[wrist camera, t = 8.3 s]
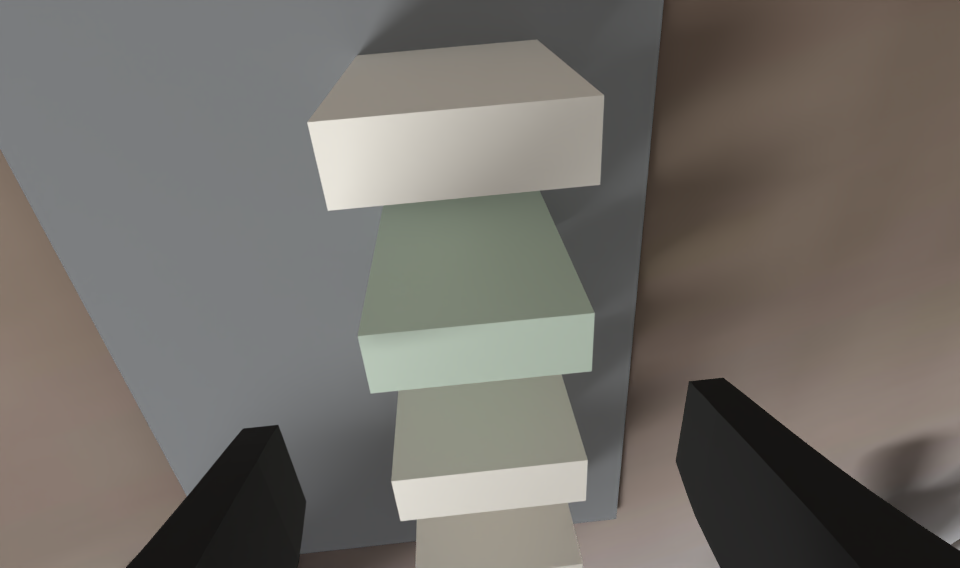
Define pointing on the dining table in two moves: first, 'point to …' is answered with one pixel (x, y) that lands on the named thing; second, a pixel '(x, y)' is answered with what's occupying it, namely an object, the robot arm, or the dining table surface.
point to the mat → (290, 218)
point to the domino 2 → (472, 296)
